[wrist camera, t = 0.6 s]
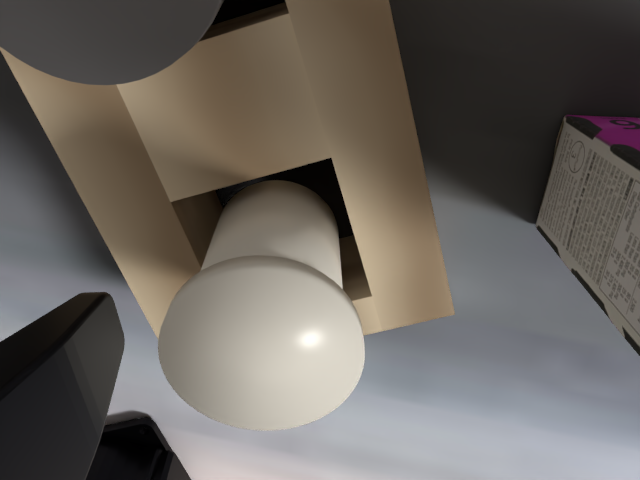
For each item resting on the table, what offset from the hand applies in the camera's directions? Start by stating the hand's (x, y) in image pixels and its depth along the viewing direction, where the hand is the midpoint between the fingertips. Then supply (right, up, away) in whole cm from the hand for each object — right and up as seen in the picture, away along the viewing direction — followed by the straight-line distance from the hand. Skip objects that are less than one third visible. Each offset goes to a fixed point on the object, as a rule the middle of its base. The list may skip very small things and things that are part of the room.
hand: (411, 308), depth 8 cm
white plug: (-3, +1, +10) cm, 10 cm away
